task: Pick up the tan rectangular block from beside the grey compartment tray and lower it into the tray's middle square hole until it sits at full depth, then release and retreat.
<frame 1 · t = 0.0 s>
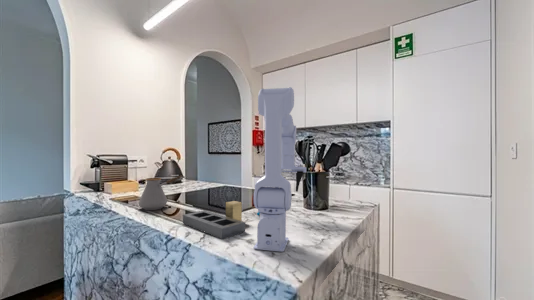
hand: (286, 190, 97), 10 cm above the table, fingers open, 7 cm apart
gear: (266, 216, 99), on the table
tan rectangular block: (233, 222, 90), on the table
grey compartment tray: (212, 227, 83), on the table
coffee pot: (162, 209, 108), on the table
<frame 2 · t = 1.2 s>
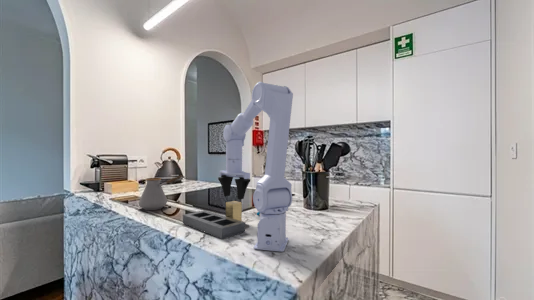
hand: (233, 197, 90), 9 cm above the table, fingers open, 7 cm apart
nothing on the table moved.
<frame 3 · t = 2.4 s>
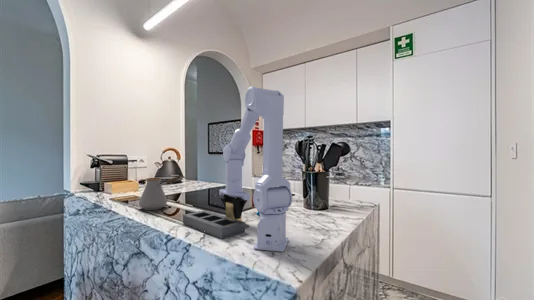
hand: (233, 217, 90), 2 cm above the table, fingers closed on tan rectangular block, 4 cm apart
tan rectangular block: (233, 221, 90), on the table, touching gripper
everything else where it was.
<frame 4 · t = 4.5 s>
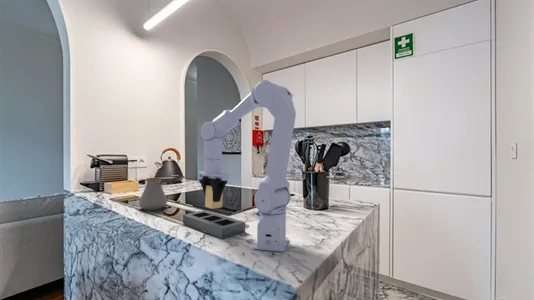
hand: (212, 200, 83), 9 cm above the table, fingers closed on tan rectangular block, 4 cm apart
tan rectangular block: (213, 206, 83), point 7 cm above the table, touching gripper
everything else where it was.
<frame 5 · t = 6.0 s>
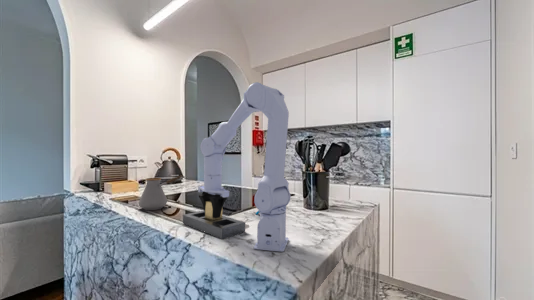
hand: (212, 216, 83), 4 cm above the table, fingers closed on tan rectangular block, 4 cm apart
tan rectangular block: (213, 222, 83), point 2 cm above the table, touching gripper
everything else where it was.
when the fingers open (4 cm above the table, at t = 6.8 s): tan rectangular block drops 2 cm, resting in grey compartment tray.
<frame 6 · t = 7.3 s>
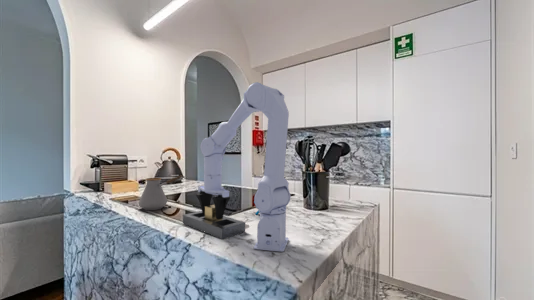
hand: (212, 216, 83), 4 cm above the table, fingers open, 7 cm apart
tan rectangular block: (213, 227, 83), resting in grey compartment tray
everything else where it was.
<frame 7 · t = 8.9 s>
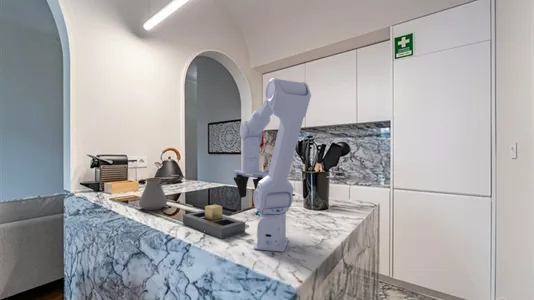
hand: (250, 198, 84), 9 cm above the table, fingers open, 7 cm apart
nothing on the table moved.
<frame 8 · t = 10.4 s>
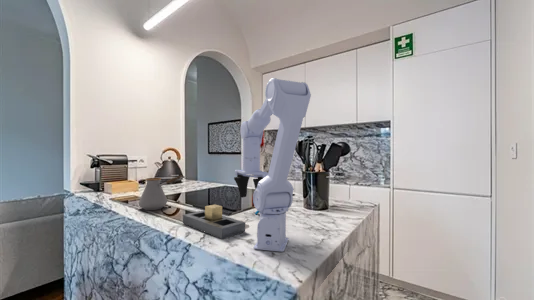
hand: (251, 198, 84), 9 cm above the table, fingers open, 7 cm apart
at the end: tan rectangular block 0.4 cm off-centre on the grey compartment tray, point 0.0 cm above the grey compartment tray's base; tan rectangular block tilted 0°; the gripper is holding nothing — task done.
